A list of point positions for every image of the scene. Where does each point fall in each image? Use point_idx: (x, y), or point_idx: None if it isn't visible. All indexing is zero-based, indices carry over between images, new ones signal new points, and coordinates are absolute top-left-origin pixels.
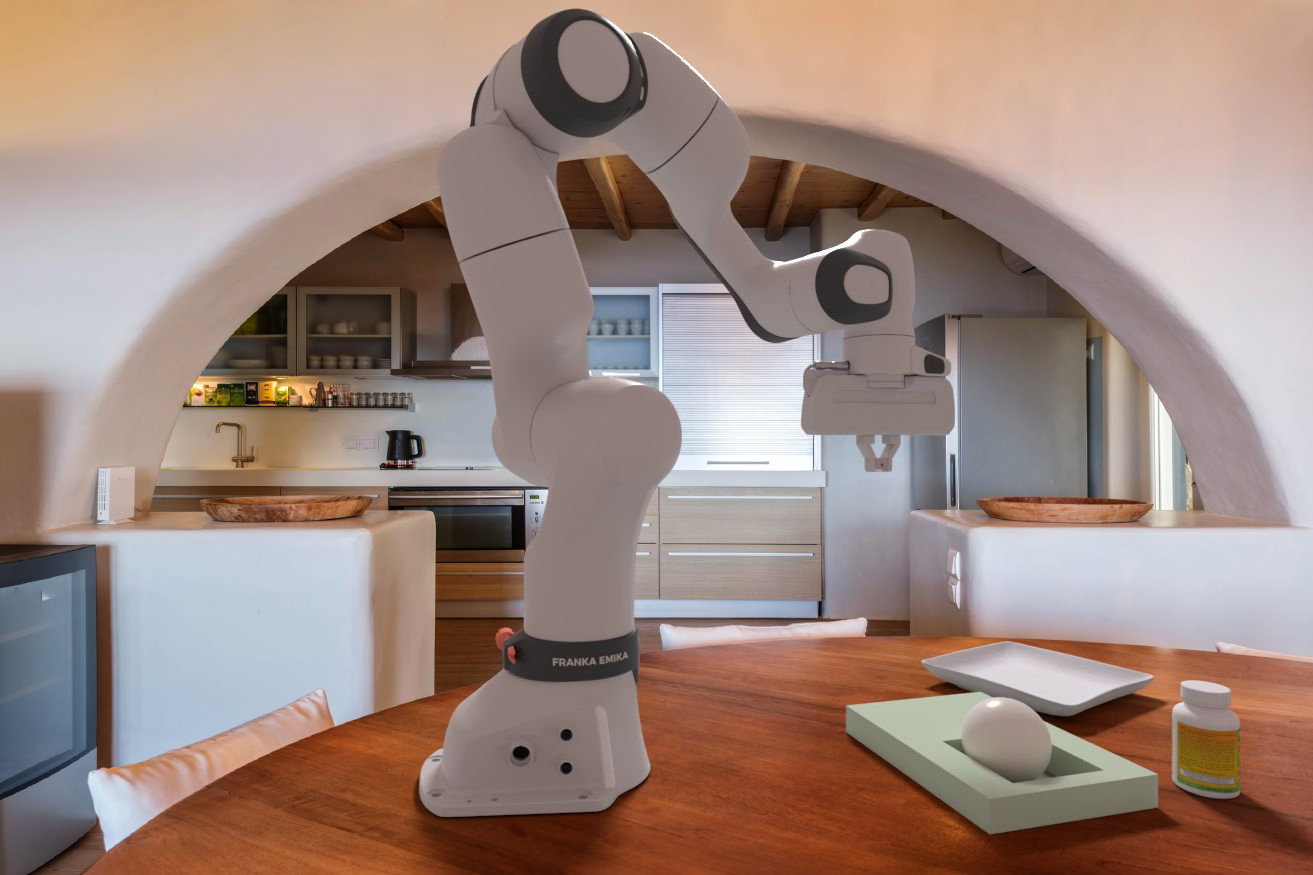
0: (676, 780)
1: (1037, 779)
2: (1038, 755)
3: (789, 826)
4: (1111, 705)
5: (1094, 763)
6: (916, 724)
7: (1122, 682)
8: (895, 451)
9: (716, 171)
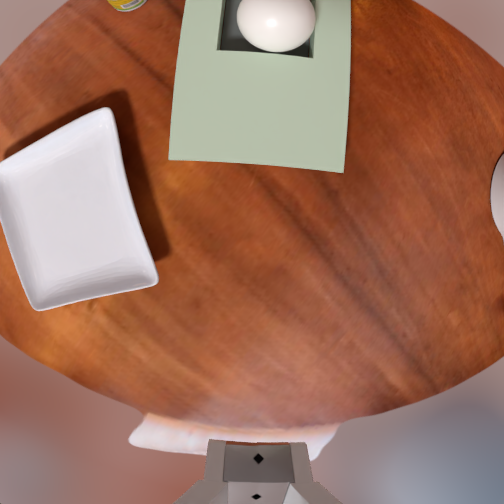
0: (485, 149)
1: None
2: None
3: (451, 60)
4: None
5: None
6: (309, 99)
7: (7, 188)
8: (184, 499)
9: None
